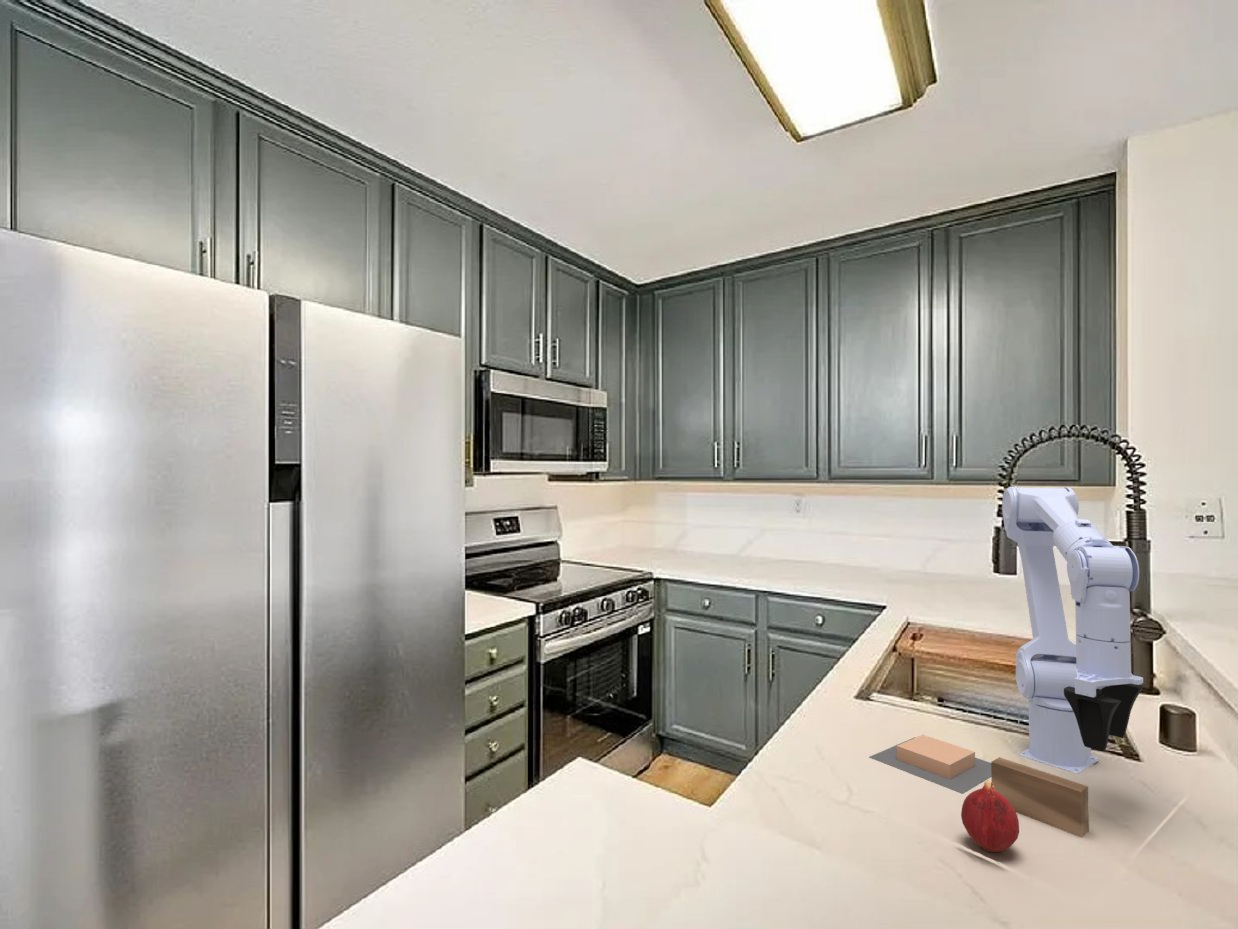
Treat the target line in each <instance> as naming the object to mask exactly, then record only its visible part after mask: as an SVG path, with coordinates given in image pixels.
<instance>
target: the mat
mask: <svg viewBox="0 0 1238 929" xmlns="http://www.w3.org/2000/svg"><path fill="white" fill-rule="evenodd" d="M916 737H917V736H916ZM916 737H915V736H914V737H912V738H910V739H907V740H906V741H902V742H900V743H897V744H896V745H895V744H894V746H891V747H889V748H887V749H884V750H882V751H879V752H876V753H875V754H871V755H870V756H868V758H870V759H872V760H874V761H877V762H880V763H882V764H885V765H887V766H890V767H892V768H895V769H897V770H900V771H903V772H906V773H908V774H911V775H913V776H916V777H919V778H920V779H922V780H923V779H924V780H926V781H929V782H931V783H933V784H937V785H939V786H941V787H943V788H947V789H949V790H951V791H953V792H956V793H959V794H961V795H963V794H965V793H967V792H968V791H970V790H972V789H974V788H975V787H977V786H979V785H980V784H982V783H984V782H986V781H987V780H989V779H992V778H991V762H989V761H986V760H983V759H980V758H978V757H975V766H973V767H971V768H969V769H967V770H966V771H964V772H962V773H960V774H958V775H956V776H955V777H953V778H951V779H948V778H946V777H943V776H940V775H938V774H935V773H933V772H930V771H927V770H925V769H922V768H919V767H917V766H914V765H911V764H909V763H906V762H903V761H901V760H898V759H897V746H898V745H900V744H902V743H904V742H907V741H909V740H911V739H914V738H916Z"/></svg>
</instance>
